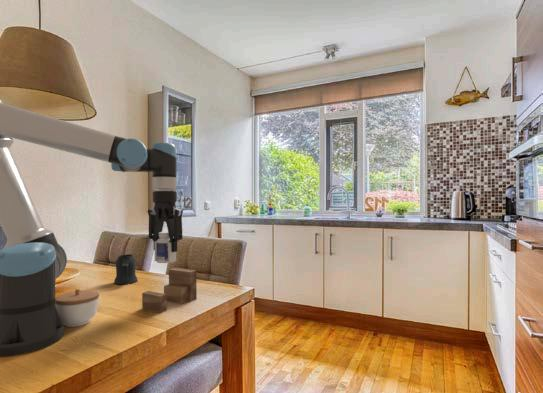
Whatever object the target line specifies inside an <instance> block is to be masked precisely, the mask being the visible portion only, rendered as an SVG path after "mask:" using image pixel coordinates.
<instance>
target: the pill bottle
mask: <svg viewBox="0 0 543 393" xmlns="http://www.w3.org/2000/svg"><path fill="white" fill-rule="evenodd" d="M159 237H160V238H159V239H158V240H157V261H156V263H157V264H169V263H168V242H169V241H170V238H169V233H168V231H162V232H159Z"/></svg>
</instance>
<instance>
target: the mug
mask: <svg viewBox="0 0 543 393" xmlns="http://www.w3.org/2000/svg"><path fill="white" fill-rule="evenodd" d="M136 262H137V261H136V259H135V256H134V255H133V254H128V253H127V254H120V255H118V256H117V259H116V260H115V271H116V272H115V274H116V276H115V278H114V280H113V285H115V284H116V285H117V286H129V285H133V284H136V283H138V277H137V275H136V265H137V264H136ZM128 284H129V285H128Z"/></svg>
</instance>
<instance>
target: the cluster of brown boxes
mask: <svg viewBox="0 0 543 393" xmlns="http://www.w3.org/2000/svg"><path fill="white" fill-rule="evenodd" d="M197 289H198V288H197V270H196V269H189V268H188V269H187V268H181V267H180V268H179V267H171V268H168V284H165V285H164V286H163V293H162V292H157V291H152V290H151V291H150V290H148V291H145V292H142V294H141V295H142V298H141V301H142V304H141V305H142V306H141V308H142V310H147V311H152V312H156V313H159V314H160V313H161V314H162V313H163V312H167V311H168V310H167V309H168V308H167V306H168V302H169V303H173V304H178V305H179V304H180V305H183V304H185V303H187V302H193V301H196V300H197V298H198V297H197V296H198V295H197V291H198V290H197Z"/></svg>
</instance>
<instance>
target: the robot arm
mask: <svg viewBox="0 0 543 393" xmlns="http://www.w3.org/2000/svg"><path fill="white" fill-rule="evenodd" d="M14 139H15V140H19V141H24V142H28V143H31V144H35V145H38V146H43V147H46V148H50V149H55V150H58V151H63V152H67V153H72V154H75V155H78V156H81V157H86V158H90V159H94V160H98V161H102V162H106V163H111V166H110V167H111V170H112V171H114V172H122V173H126V172H127V173H129V172H131V173H142V172H143V173H152V190H154V191H153V192H152V203H154V206H153V208H150V209H149V208H148V209H147V216H148V239H149V240H152V241H153V251H154V262H157V240H158V239H159V238H160V237H159V232H163V228H164V224H165V223H166V228H167V232H168V233H169V238H170V241H169V242H168V263H167V264H172V263H175V262H177V252H178V242H179V241H182V240H183V213H184V210H183V209H181V208H178V207H177V206H176V203H177V201H178V195H177V194H178V193H177V191H176V190H177V188H178V186H177V183H178V182H177V181H178V178H177V167H178V166H177V165H178V164H177V148H176V146H175V144H173V143H170V142H154V143H153V144H152V146H151V148H147V147H146V145H145V144H144V142H143V141H141V140H139V139H136V138H124V137H123V136H122V137H121V136H117V135H114V134H110V133H107V132H104V131H100V130H96V129H94V128H90V127H87V126H82V125H79V124H77V123H73V122H69V121H65V120H62V119H59V118H55V117H52V116H49V115H46V114H42V113H39V112H34V111H31V110H28V109H24V108H21V107H17V106H13V105H9V104H7V103H4V102H3V101H2V100H1V98H0V226H1V228H2V231H3V233H4V236H5V237H6V239H7V241H6V243H5V245H4V246H3V248H1V249H0V357H12V356H18V355H23V354H28V353H31V352H35V351H38V350H41V349H44V348H47V347H49V346H51V345H53V344H55V343H56V342H58V341H59V340H61V339H62V338H63V336H64V324H63V323H62V321H61V318H60V316H59V313H58V311H57V308H56V306H55V298H56V280H57V279H58V278H59V277H60V276H61V275H62V274H63V272H64V271H65V269H66V266H67V262H68V261H67V260H68V257H67V253H66V250H65V249H64V248H63V246H61V245H60V244H59V243H58V240H57V238H56V236H55V234H54V232H53V231H52V230H50V229H47V228H45V227H44V225H43V222H42V220H41V218H40V215H39V213H38V211H37V208H36V207H35V204H34V201H33V199H32V196H31V194H30V192H29V190H28V187H27V186H26V183H25V181H24V179H23V177H22V176H23V175H22V174H21V172H20V169H19V167H18V166H17V163H16V160H15V158H14V156H13V154H12V152H11V147H12V145H13V144H14Z"/></svg>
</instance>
